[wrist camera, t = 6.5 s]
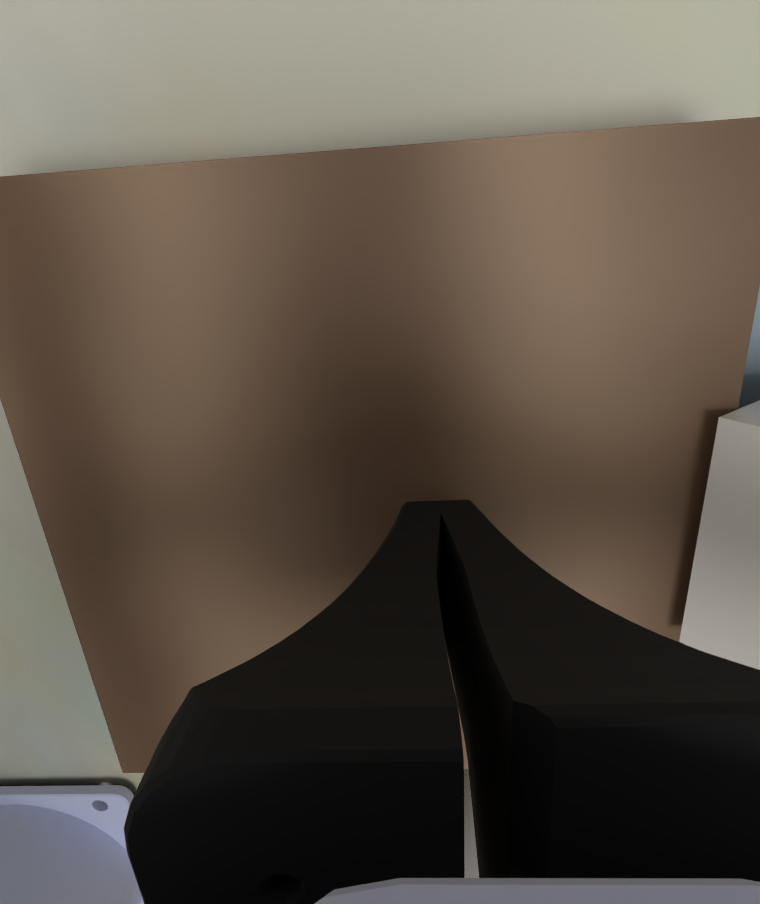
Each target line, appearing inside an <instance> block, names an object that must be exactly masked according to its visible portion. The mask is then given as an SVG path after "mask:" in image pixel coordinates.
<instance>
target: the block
mask: <svg viewBox="0 0 760 904" xmlns="http://www.w3.org/2000/svg"><path fill="white" fill-rule="evenodd" d="M679 641H680V642H681V643H683V644H685V645H687V646H690V647H692V648H695V649H698V650H700V651H703V652H706V653H709V654H712V655H715V656H718V657H721V658H724V659H727V660H730V661H734V662H737V663H740V664H743V665H746V666H749V667H752V668H755V669H758V670H760V400H759V401H757V402H754V403H752V404H749V405H747V406H745V407H742V408H740V409H737V410H735V411H733V412H730V413H728V414H725V415H723V416H721V417H719V419H718V425H717V431H716V436H715V442H714V448H713V453H712V459H711V465H710V470H709V476H708V482H707V487H706V493H705V499H704V504H703V510H702V515H701V521H700V527H699V532H698V538H697V544H696V549H695V555H694V561H693V566H692V572H691V578H690V583H689V589H688V595H687V600H686V606H685V611H684V617H683V623H682V628H681V634H680V640H679Z"/></svg>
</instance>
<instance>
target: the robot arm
mask: <svg viewBox="0 0 760 904" xmlns="http://www.w3.org/2000/svg"><path fill="white" fill-rule="evenodd" d="M447 654H448V655H447ZM448 659H449V660H448ZM449 664H450V665H449ZM450 669H451V671H450ZM451 674H452V676H451ZM452 679H453V681H452ZM453 684H454V686H453ZM454 689H455V691H454ZM455 694H456V695H455ZM458 709H459V710H458ZM459 714H460V718H461V723H462V728H463V733H464V740H465V746H466V752H467V759H468V768H469V778H470V788H471V797H472V807H473V817H474V827H475V837H476V848H477V858H478V868H479V878H464V758H463V745H462V736H461V727H460V719H459ZM0 904H760V670H758V669H755V668H752V667H749V666H746V665H743V664H740V663H737V662H734V661H730V660H727V659H724V658H721V657H718V656H715V655H712V654H709V653H706V652H703V651H700V650H698V649H695V648H692V647H690V646H687V645H685V644H682V643H680V642H678V641H675V640H673V639H670V638H668V637H665V636H663V635H660V634H658V633H655V632H653V631H651V630H649V629H647V628H644V627H642V626H640V625H638V624H636V623H633V622H631V621H629V620H627V619H625V618H623V617H622V616H620V615H618V614H616V613H614V612H612V611H610V610H608V609H606V608H604V607H602V606H600V605H598V604H597V603H595V602H593V601H591V600H590V599H588V598H586V597H584V596H583V595H581V594H580V593H578V592H576V591H575V590H573V589H572V588H570V587H569V586H567V585H566V584H564V583H562V582H561V581H559V580H558V579H556V578H555V577H553V576H552V575H551V574H549V573H548V572H546V571H545V570H544V569H542V568H541V567H540V566H539V565H537V564H536V563H535V562H534V561H532V560H531V559H530V558H529V557H527V556H526V555H525V554H524V553H522V552H521V551H520V550H519V549H518V548H517V547H516V546H515V545H514V544H513V543H511V542H510V541H509V540H508V539H507V538H506V537H505V536H504V535H503V534H502V533H501V532H500V531H499V530H498V529H497V528H496V527H495V526H494V525H493V524H492V523H491V522H490V521H489V520H488V519H487V518H486V516H485V515H484V514H483V513H482V512H481V511H480V510H479V509H478V508H477V507H476V506H475V505H474V504H473V503H472V502H471V501H470V500H442V501H414V502H406V503H405V504H404V505H403V506H402V507H401V510H400V513H399V515H398V517H397V519H396V521H395V523H394V525H393V527H392V528H391V530H390V532H389V534H388V535H387V537H386V538H385V540H384V541H383V543H382V544H381V546H380V547H379V549H378V550H377V552H376V553H375V555H374V556H373V557H372V558H371V560H370V561H369V562H368V564H367V565H366V566H365V567H364V569H363V570H362V571H361V572H360V574H359V575H358V576H357V577H356V578H355V579H354V581H353V582H352V583H351V584H350V585H349V586H348V587H347V588H346V589H345V590H344V591H343V592H342V593H341V594H340V595H339V596H338V597H337V598H336V599H335V600H334V601H333V602H332V603H331V604H330V605H329V606H328V607H326V608H325V609H324V610H323V611H321V612H320V613H319V614H318V615H316V616H315V617H314V618H313V619H311V620H310V621H309V622H307V623H306V624H305V625H304V626H302V627H301V628H300V629H298V630H297V631H295V632H294V633H292V634H291V635H289V636H288V637H286V638H285V639H283V640H282V641H280V642H279V643H277V644H275V645H274V646H272V647H270V648H269V649H267V650H265V651H264V652H262V653H260V654H259V655H257V656H255V657H253V658H252V659H250V660H248V661H246V662H244V663H242V664H240V665H238V666H236V667H234V668H232V669H230V670H228V671H226V672H224V673H222V674H220V675H218V676H216V677H214V678H212V679H210V680H208V681H206V682H203V683H201V684H199V685H197V686H194V687H192V688H191V689H190V690H189V692H188V694H187V696H186V698H185V699H184V701H183V703H182V704H181V706H180V708H179V709H178V711H177V712H176V714H175V715H174V717H173V718H172V720H171V722H170V724H169V725H168V727H167V729H166V731H165V732H164V734H163V736H162V738H161V740H160V742H159V744H158V746H157V748H156V750H155V752H154V754H153V756H152V758H151V761H150V763H149V765H148V767H147V769H146V771H145V773H144V776H143V778H142V780H141V782H140V784H139V786H138V788H137V791H136V793H135V795H133V793H132V792H131V790H129V789H128V788H126V787H124V786H120V785H77V786H0Z"/></svg>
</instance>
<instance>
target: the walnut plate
mask: <svg viewBox="0 0 760 904" xmlns="http://www.w3.org/2000/svg"><path fill="white" fill-rule="evenodd" d="M759 287H760V117H754V118H741V119H728V120H716V121H703V122H690V123H678V124H665V125H652V126H639V127H627V128H614V129H601V130H589V131H576V132H563V133H551V134H538V135H525V136H512V137H500V138H487V139H474V140H462V141H449V142H436V143H423V144H411V145H398V146H385V147H373V148H360V149H347V150H334V151H322V152H309V153H296V154H284V155H271V156H258V157H245V158H233V159H220V160H207V161H195V162H182V163H169V164H157V165H144V166H131V167H118V168H106V169H93V170H80V171H68V172H55V173H42V174H29V175H17V176H4V177H0V399H1V402H2V405H3V408H4V411H5V414H6V417H7V420H8V423H9V426H10V429H11V432H12V436H13V439H14V442H15V445H16V448H17V451H18V454H19V457H20V460H21V463H22V466H23V469H24V472H25V475H26V478H27V481H28V484H29V487H30V490H31V494H32V497H33V500H34V503H35V506H36V509H37V512H38V515H39V518H40V521H41V524H42V527H43V530H44V533H45V536H46V539H47V542H48V545H49V549H50V552H51V555H52V558H53V561H54V564H55V567H56V570H57V573H58V576H59V579H60V582H61V585H62V588H63V591H64V594H65V597H66V600H67V603H68V607H69V610H70V613H71V616H72V619H73V622H74V625H75V628H76V631H77V634H78V637H79V640H80V643H81V646H82V649H83V652H84V655H85V658H86V662H87V665H88V668H89V671H90V674H91V677H92V680H93V683H94V686H95V689H96V692H97V695H98V698H99V701H100V704H101V707H102V710H103V713H104V716H105V720H106V723H107V726H108V729H109V732H110V735H111V738H112V741H113V744H114V747H115V750H116V753H117V756H118V759H119V762H120V765H121V768H122V771H123V773H145V771H146V769H147V767H148V765H149V763H150V761H151V758H152V756H153V754H154V752H155V750H156V748H157V746H158V744H159V742H160V740H161V738H162V736H163V734H164V732H165V731H166V729H167V727H168V725H169V724H170V722H171V720H172V718H173V717H174V715H175V714H176V712H177V711H178V709H179V708H180V706H181V704H182V703H183V701H184V699H185V698H186V696H187V694H188V692H189V690H190V689H191V688H192V687H194V686H197V685H199V684H201V683H203V682H206V681H208V680H210V679H212V678H214V677H216V676H218V675H220V674H222V673H224V672H226V671H228V670H230V669H232V668H234V667H236V666H238V665H240V664H242V663H244V662H246V661H248V660H250V659H252V658H253V657H255V656H257V655H259V654H260V653H262V652H264V651H265V650H267V649H269V648H270V647H272V646H274V645H275V644H277V643H279V642H280V641H282V640H283V639H285V638H286V637H288V636H289V635H291V634H292V633H294V632H295V631H297V630H298V629H300V628H301V627H302V626H304V625H305V624H306V623H307V622H309V621H310V620H311V619H313V618H314V617H315V616H316V615H318V614H319V613H320V612H321V611H323V610H324V609H325V608H326V607H328V606H329V605H330V604H331V603H332V602H333V601H334V600H335V599H336V598H337V597H338V596H339V595H340V594H341V593H342V592H343V591H344V590H345V589H346V588H347V587H348V586H349V585H350V584H351V583H352V582H353V581H354V579H355V578H356V577H357V576H358V575H359V574H360V572H361V571H362V570H363V569H364V567H365V566H366V565H367V564H368V562H369V561H370V560H371V558H372V557H373V556H374V555H375V553H376V552H377V550H378V549H379V547H380V546H381V544H382V543H383V541H384V540H385V538H386V537H387V535H388V534H389V532H390V530H391V528H392V527H393V525H394V523H395V521H396V519H397V517H398V515H399V513H400V510H401V507H402V506H403V505H404V504H405V503H406V502H414V501H442V500H470V501H471V502H472V503H473V504H474V505H475V506H476V507H477V508H478V509H479V510H480V511H481V512H482V513H483V514H484V515H485V516H486V518H487V519H488V520H489V521H490V522H491V523H492V524H493V525H494V526H495V527H496V528H497V529H498V530H499V531H500V532H501V533H502V534H503V535H504V536H505V537H506V538H507V539H508V540H509V541H510V542H511V543H513V544H514V545H515V546H516V547H517V548H518V549H519V550H520V551H521V552H522V553H524V554H525V555H526V556H527V557H529V558H530V559H531V560H532V561H534V562H535V563H536V564H537V565H539V566H540V567H541V568H542V569H544V570H545V571H546V572H548V573H549V574H551V575H552V576H553V577H555V578H556V579H558V580H559V581H561V582H562V583H564V584H566V585H567V586H569V587H570V588H572V589H573V590H575V591H576V592H578V593H580V594H581V595H583V596H584V597H586V598H588V599H590V600H591V601H593V602H595V603H597V604H598V605H600V606H602V607H604V608H606V609H608V610H610V611H612V612H614V613H616V614H618V615H620V616H622V617H623V618H625V619H627V620H629V621H631V622H633V623H636V624H638V625H640V626H642V627H644V628H647V629H649V630H651V631H653V632H655V633H658V634H660V635H663V636H665V637H668V638H670V639H673V640H675V641H678V642H680V641H679V640H680V634H681V628H682V623H683V617H684V611H685V606H686V600H687V595H688V589H689V583H690V578H691V572H692V566H693V561H694V555H695V549H696V544H697V538H698V532H699V527H700V521H701V515H702V510H703V504H704V499H705V493H706V487H707V482H708V476H709V470H710V465H711V459H712V453H713V448H714V442H715V436H716V431H717V425H718V419H719V417H721V416H723V415H725V414H728V413H730V412H733V411H735V410H737V409H738V405H739V400H740V394H741V388H742V383H743V377H744V371H745V366H746V360H747V355H748V349H749V343H750V338H751V332H752V326H753V321H754V315H755V309H756V304H757V298H758V293H759ZM680 643H681V642H680ZM682 644H683V643H682ZM447 655H448V654H447ZM448 660H449V659H448ZM449 665H450V664H449ZM450 671H451V669H450ZM451 676H452V674H451ZM452 681H453V679H452ZM453 686H454V684H453ZM454 691H455V689H454ZM455 695H456V694H455ZM458 710H459V709H458ZM459 719H460V727H461V736H462V745H463V758H464V769H469V768H468V759H467V752H466V746H465V740H464V733H463V728H462V723H461V718H460V714H459Z"/></svg>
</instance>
